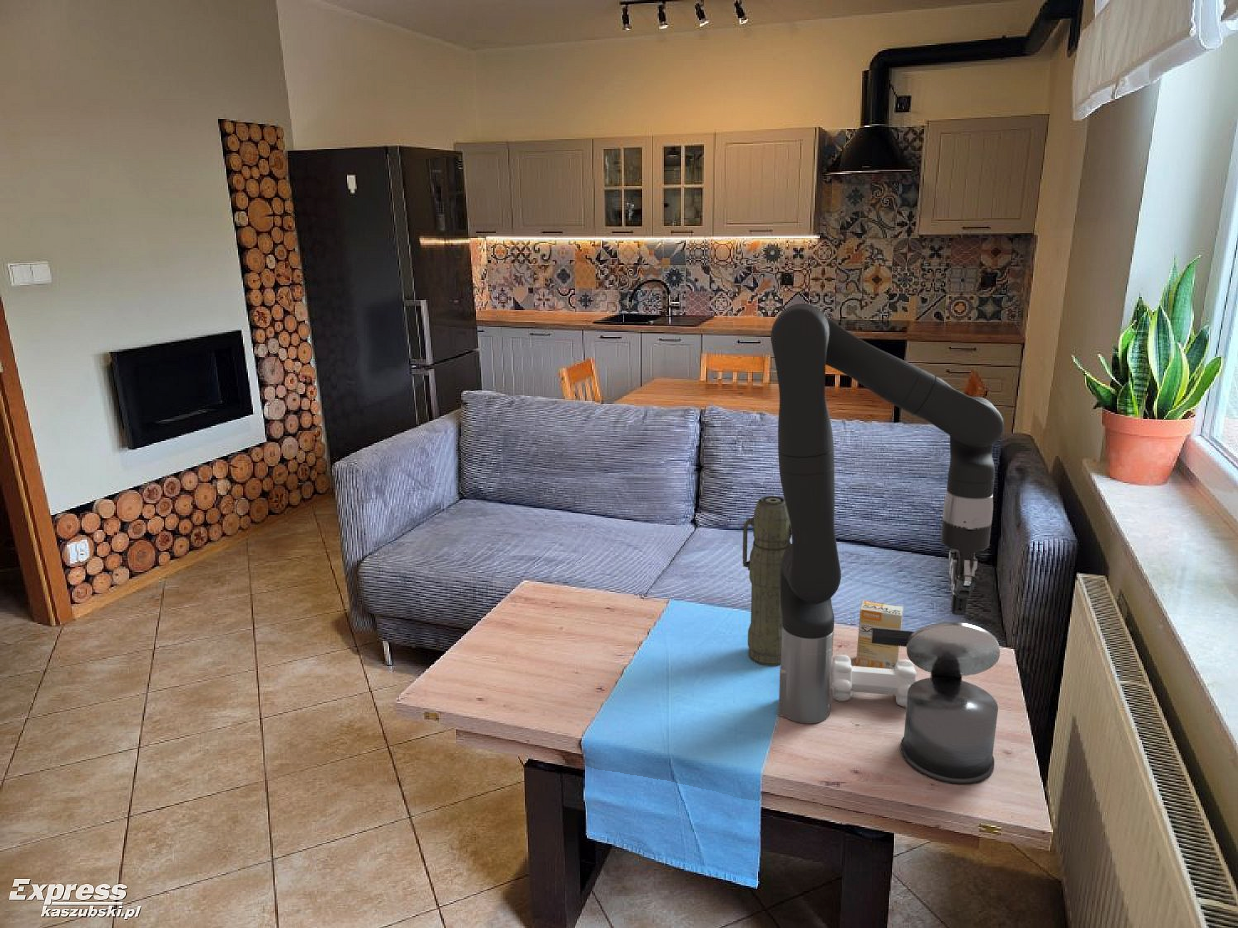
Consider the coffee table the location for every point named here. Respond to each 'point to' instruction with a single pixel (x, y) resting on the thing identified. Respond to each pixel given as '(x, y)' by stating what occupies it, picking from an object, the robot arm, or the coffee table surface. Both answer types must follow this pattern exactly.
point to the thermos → (766, 578)
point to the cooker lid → (945, 648)
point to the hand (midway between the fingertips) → (957, 612)
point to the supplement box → (866, 650)
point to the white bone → (872, 679)
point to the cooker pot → (950, 730)
